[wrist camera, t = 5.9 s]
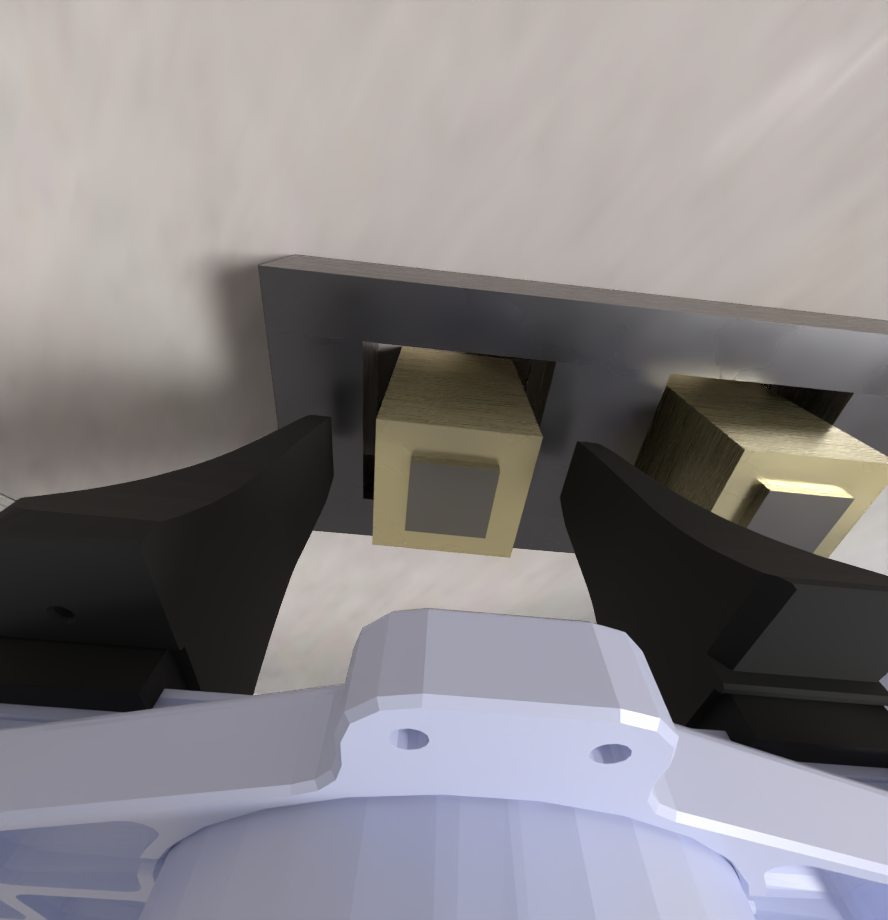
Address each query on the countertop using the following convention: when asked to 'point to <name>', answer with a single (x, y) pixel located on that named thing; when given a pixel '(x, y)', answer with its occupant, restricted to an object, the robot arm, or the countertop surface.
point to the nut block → (453, 454)
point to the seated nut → (761, 461)
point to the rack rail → (546, 364)
